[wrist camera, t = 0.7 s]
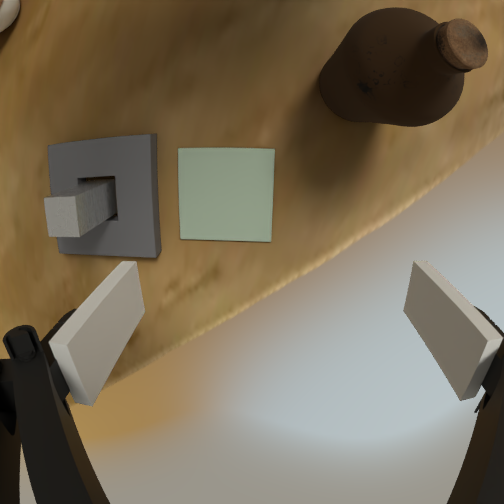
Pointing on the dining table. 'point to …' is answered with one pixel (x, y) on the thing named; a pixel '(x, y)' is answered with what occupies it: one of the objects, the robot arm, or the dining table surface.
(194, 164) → the green mat
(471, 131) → the dining table surface
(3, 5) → the lidded jar
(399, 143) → the dining table surface
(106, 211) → the metal peg
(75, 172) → the pocket block
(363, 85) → the olive oil
